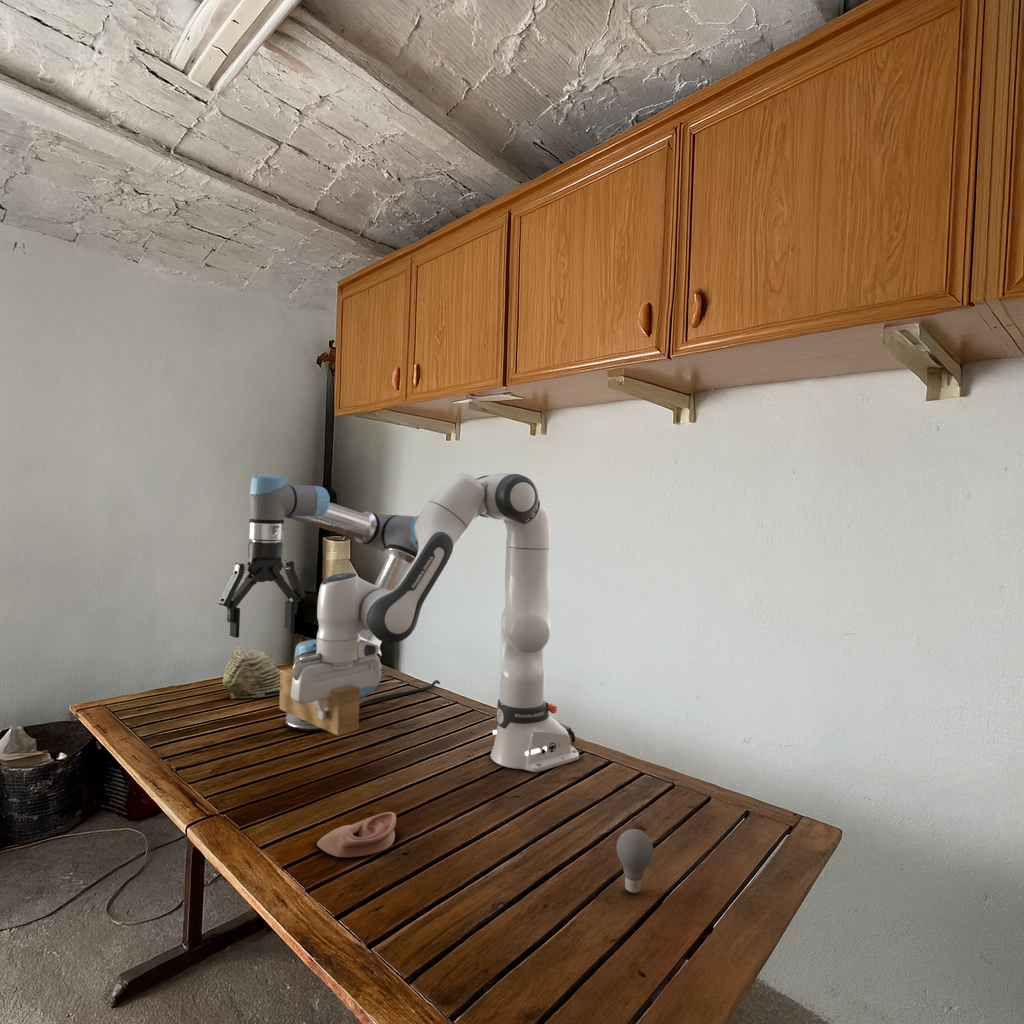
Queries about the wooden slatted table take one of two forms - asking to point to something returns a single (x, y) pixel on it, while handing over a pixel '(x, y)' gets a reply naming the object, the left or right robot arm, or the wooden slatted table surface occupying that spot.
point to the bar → (339, 705)
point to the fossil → (251, 674)
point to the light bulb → (634, 857)
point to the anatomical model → (361, 837)
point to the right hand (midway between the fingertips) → (336, 714)
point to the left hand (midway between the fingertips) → (262, 632)
